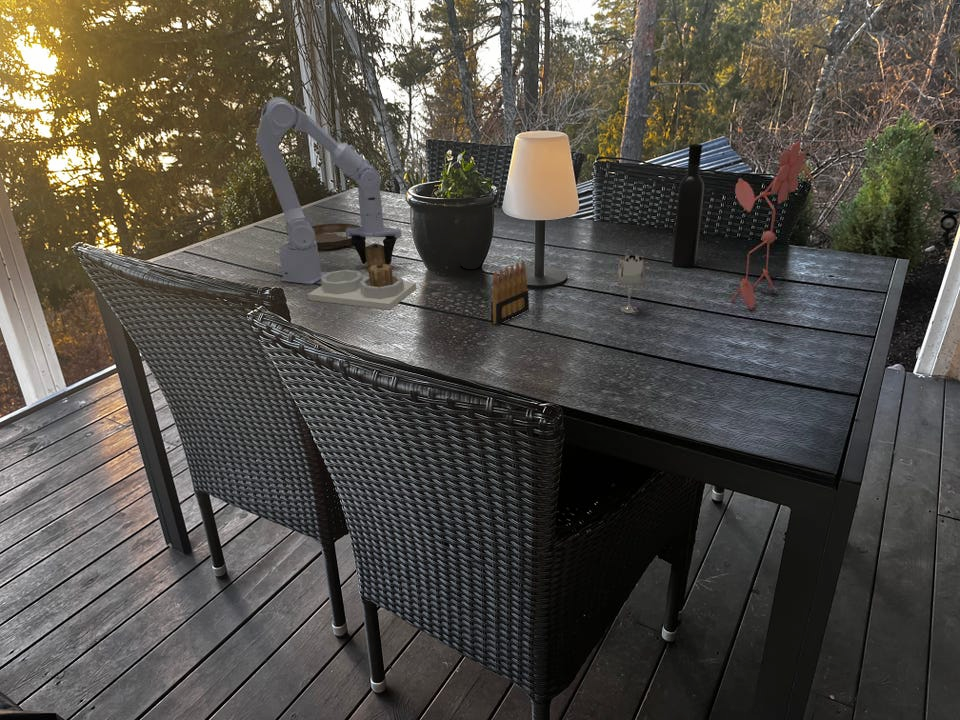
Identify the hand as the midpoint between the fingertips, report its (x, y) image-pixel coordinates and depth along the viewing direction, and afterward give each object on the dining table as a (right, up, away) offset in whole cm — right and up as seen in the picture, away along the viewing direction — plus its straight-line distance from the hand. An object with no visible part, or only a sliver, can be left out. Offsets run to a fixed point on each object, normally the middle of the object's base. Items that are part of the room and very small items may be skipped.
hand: (376, 263), depth 185 cm
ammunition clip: (+34, -17, -32) cm, 50 cm away
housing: (-1, -10, -16) cm, 19 cm away
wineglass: (+61, -15, -31) cm, 70 cm away
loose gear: (0, -1, +1) cm, 1 cm away
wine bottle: (+80, -1, -6) cm, 81 cm away
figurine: (+92, -14, -31) cm, 98 cm away
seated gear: (+4, -9, -19) cm, 21 cm away
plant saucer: (-18, +10, +25) cm, 32 cm away
